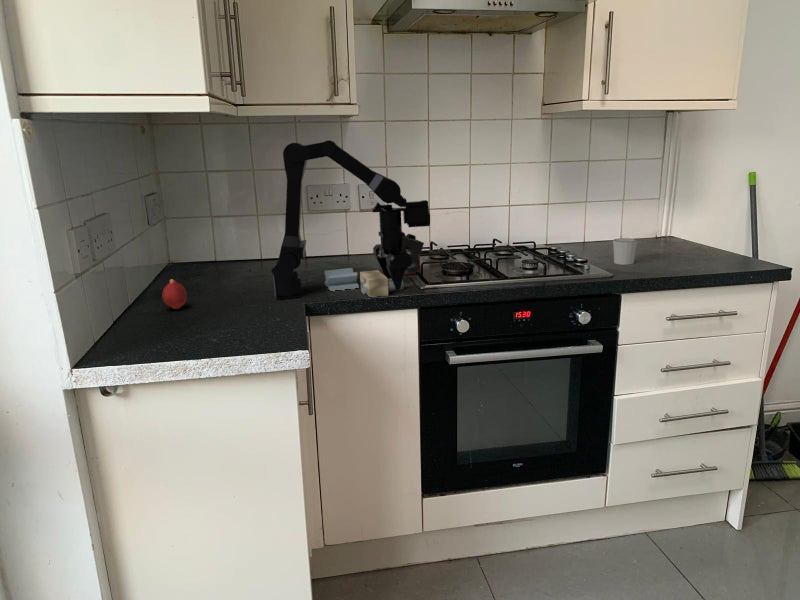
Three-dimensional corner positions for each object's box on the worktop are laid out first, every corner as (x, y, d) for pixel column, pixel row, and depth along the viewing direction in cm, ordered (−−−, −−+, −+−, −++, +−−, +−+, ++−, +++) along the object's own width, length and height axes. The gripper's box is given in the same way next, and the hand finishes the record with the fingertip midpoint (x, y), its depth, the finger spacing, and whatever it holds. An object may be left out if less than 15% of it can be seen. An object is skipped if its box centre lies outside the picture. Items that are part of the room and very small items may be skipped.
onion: (175, 305, 153) (171, 275, 151) (193, 307, 151) (189, 276, 149) (159, 312, 148) (154, 281, 146) (177, 313, 146) (173, 282, 144)
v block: (330, 291, 160) (329, 276, 159) (324, 284, 169) (323, 269, 168) (358, 288, 162) (357, 273, 161) (352, 281, 171) (351, 266, 170)
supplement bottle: (416, 270, 182) (414, 233, 178) (423, 273, 176) (422, 236, 173) (397, 272, 180) (396, 235, 176) (405, 276, 174) (403, 238, 171)
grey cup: (613, 265, 176) (615, 241, 175) (610, 260, 183) (611, 237, 181) (638, 264, 175) (639, 241, 173) (633, 260, 182) (634, 237, 180)
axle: (363, 296, 156) (363, 284, 154) (360, 291, 159) (360, 279, 158) (403, 291, 159) (403, 279, 157) (400, 287, 162) (399, 275, 160)
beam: (369, 297, 153) (368, 280, 151) (360, 288, 162) (359, 271, 161) (388, 295, 154) (387, 278, 153) (378, 286, 164) (377, 270, 162)
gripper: (431, 230, 148) (433, 290, 153) (409, 221, 166) (411, 275, 170) (388, 234, 146) (391, 295, 150) (371, 224, 163) (374, 279, 167)
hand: (393, 285), depth 159 cm, fingers open, 8 cm apart
